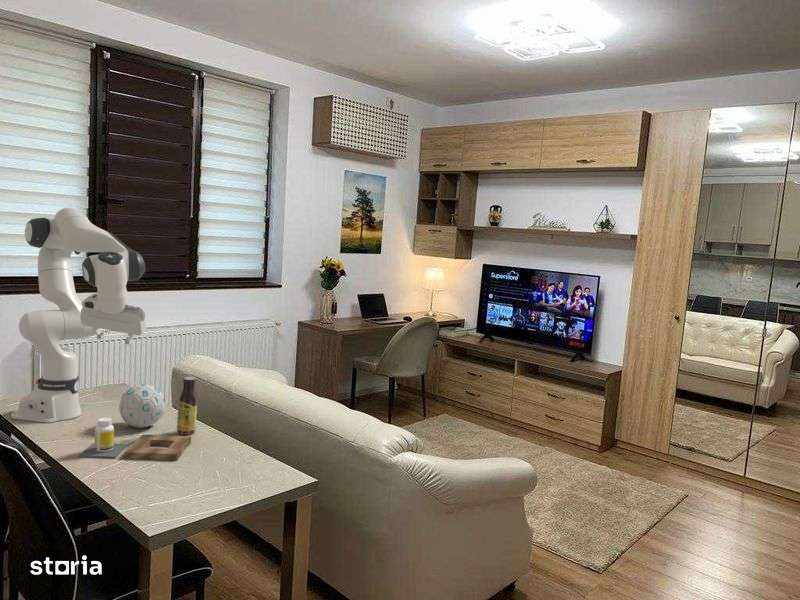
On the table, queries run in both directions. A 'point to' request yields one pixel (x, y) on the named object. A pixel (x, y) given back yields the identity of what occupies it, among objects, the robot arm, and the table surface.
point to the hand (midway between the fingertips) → (114, 341)
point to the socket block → (144, 452)
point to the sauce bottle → (187, 408)
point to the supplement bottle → (104, 435)
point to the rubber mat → (109, 454)
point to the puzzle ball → (142, 406)
